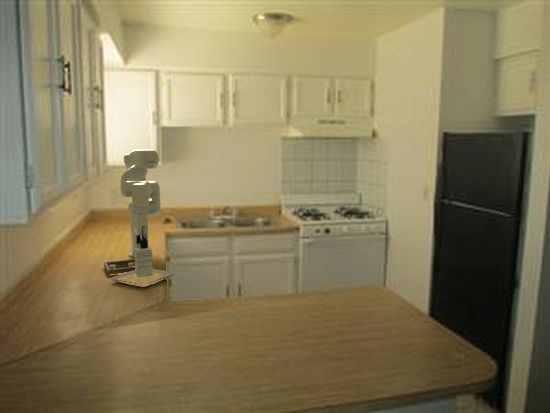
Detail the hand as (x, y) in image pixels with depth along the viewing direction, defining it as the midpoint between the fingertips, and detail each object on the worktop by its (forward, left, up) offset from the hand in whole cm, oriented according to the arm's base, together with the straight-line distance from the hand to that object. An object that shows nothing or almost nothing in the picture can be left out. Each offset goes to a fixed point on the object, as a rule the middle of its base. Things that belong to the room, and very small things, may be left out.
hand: (142, 245), depth 218 cm
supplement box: (+1, 0, -14) cm, 14 cm away
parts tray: (-21, -6, -17) cm, 28 cm away
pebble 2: (-26, -1, -17) cm, 31 cm away
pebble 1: (-26, -11, -17) cm, 33 cm away
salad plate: (+1, 0, -17) cm, 17 cm away
